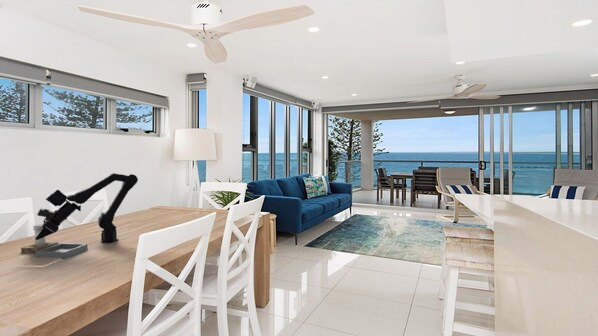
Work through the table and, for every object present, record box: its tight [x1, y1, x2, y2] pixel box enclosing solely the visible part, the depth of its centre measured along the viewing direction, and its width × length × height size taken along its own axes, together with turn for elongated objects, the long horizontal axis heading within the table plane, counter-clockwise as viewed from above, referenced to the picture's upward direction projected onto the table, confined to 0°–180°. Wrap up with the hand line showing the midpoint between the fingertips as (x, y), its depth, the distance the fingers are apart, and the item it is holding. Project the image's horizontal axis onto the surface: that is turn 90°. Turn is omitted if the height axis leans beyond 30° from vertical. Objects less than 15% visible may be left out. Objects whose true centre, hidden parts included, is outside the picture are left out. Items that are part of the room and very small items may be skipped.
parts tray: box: [35, 242, 88, 260], centre depth 151 cm, size 14×14×3 cm
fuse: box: [32, 223, 47, 247], centre depth 155 cm, size 5×5×12 cm
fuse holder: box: [20, 241, 60, 254], centre depth 155 cm, size 10×10×3 cm
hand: (36, 237), depth 154 cm, fingers open, 9 cm apart
